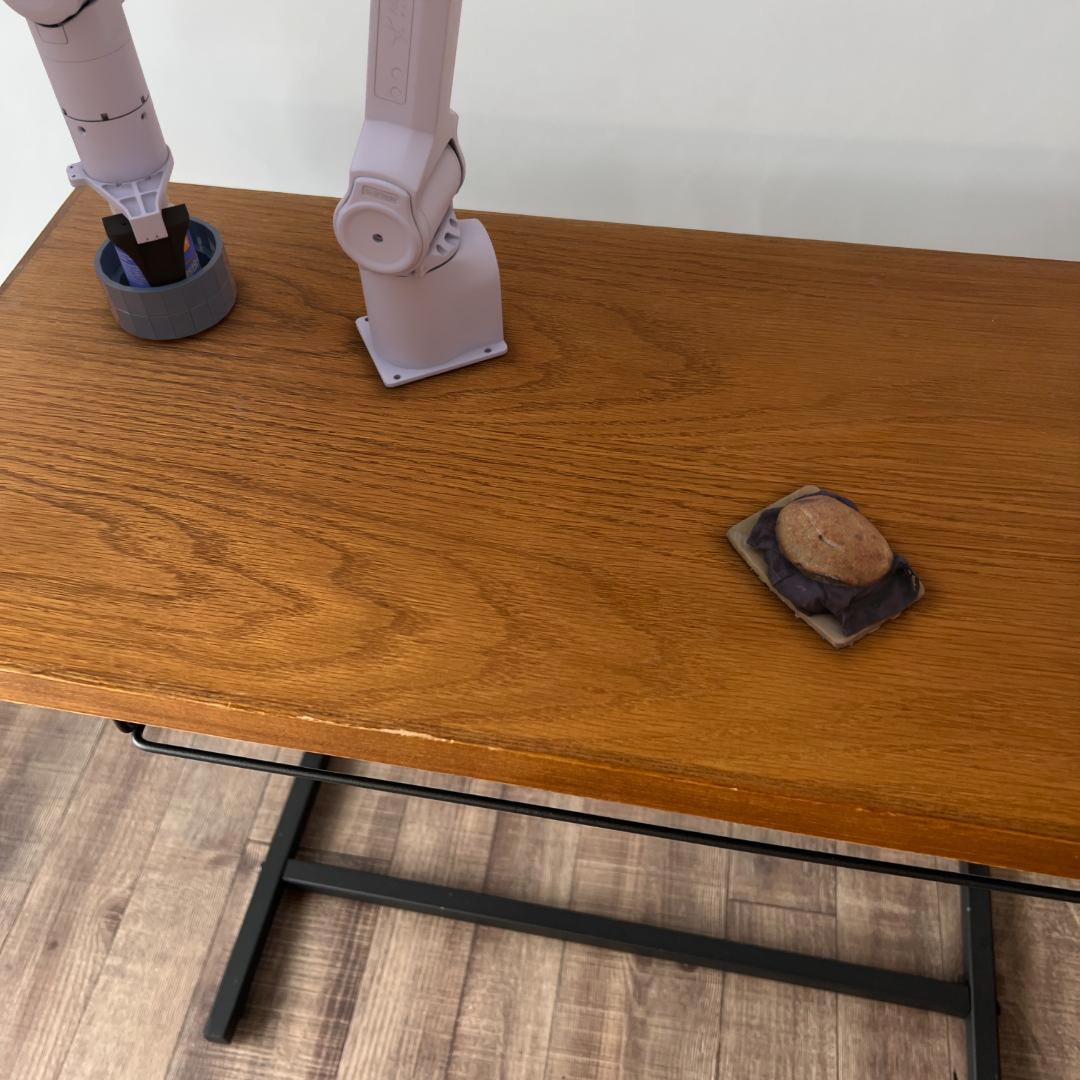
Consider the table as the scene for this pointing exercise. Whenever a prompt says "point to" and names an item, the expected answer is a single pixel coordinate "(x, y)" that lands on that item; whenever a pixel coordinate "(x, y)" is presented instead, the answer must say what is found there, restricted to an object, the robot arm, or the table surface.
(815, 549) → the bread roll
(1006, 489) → the table surface
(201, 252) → the bowl
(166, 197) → the pill bottle
